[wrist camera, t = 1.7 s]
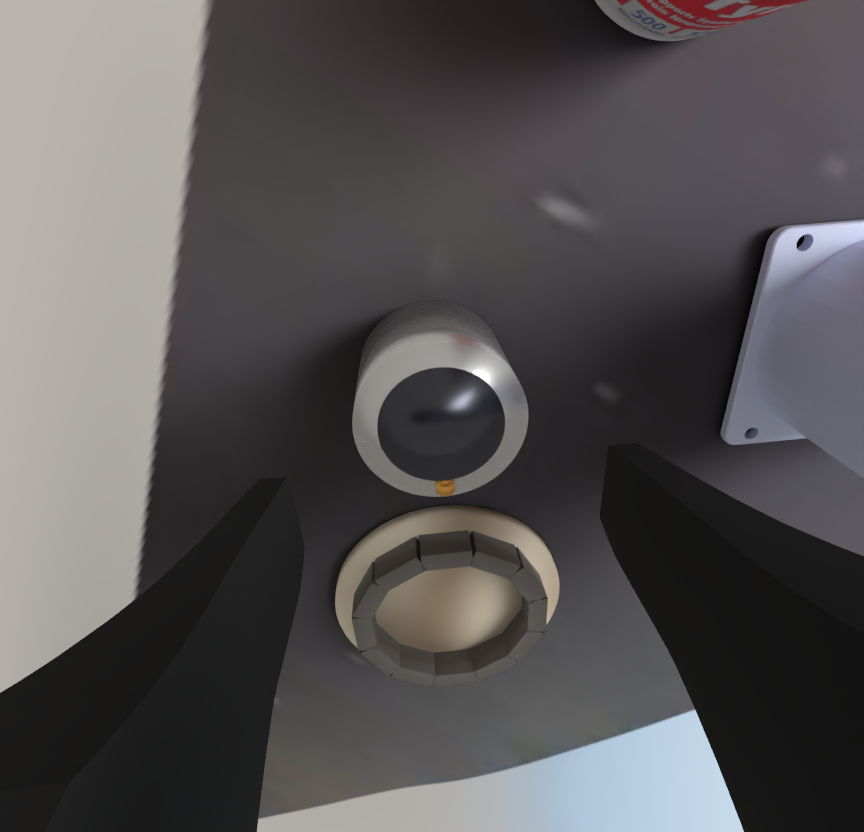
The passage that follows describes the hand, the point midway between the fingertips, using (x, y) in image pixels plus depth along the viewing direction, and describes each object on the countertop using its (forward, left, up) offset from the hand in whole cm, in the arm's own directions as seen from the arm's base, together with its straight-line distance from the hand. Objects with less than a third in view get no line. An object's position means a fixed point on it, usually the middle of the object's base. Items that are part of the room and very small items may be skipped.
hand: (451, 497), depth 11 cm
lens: (0, 0, -7) cm, 7 cm away
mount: (0, +11, -7) cm, 13 cm away
